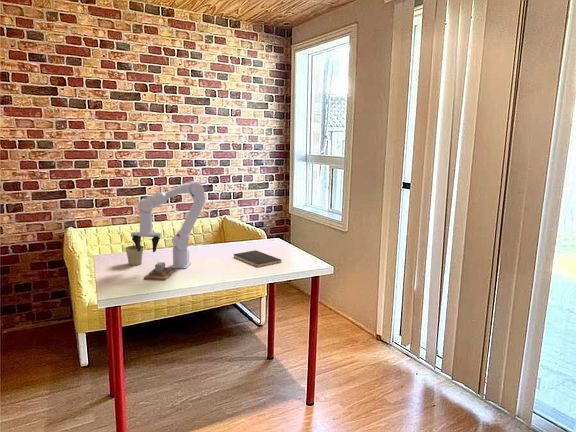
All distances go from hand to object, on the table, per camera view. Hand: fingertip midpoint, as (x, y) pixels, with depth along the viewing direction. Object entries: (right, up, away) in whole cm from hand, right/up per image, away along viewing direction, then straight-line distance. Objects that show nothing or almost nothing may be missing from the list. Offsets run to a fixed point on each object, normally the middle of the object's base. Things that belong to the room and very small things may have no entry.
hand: (146, 251), depth 201 cm
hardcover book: (+52, -7, +25) cm, 58 cm away
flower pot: (-10, -8, +11) cm, 17 cm away
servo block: (+8, -10, -6) cm, 14 cm away
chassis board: (+8, -11, -6) cm, 15 cm away
